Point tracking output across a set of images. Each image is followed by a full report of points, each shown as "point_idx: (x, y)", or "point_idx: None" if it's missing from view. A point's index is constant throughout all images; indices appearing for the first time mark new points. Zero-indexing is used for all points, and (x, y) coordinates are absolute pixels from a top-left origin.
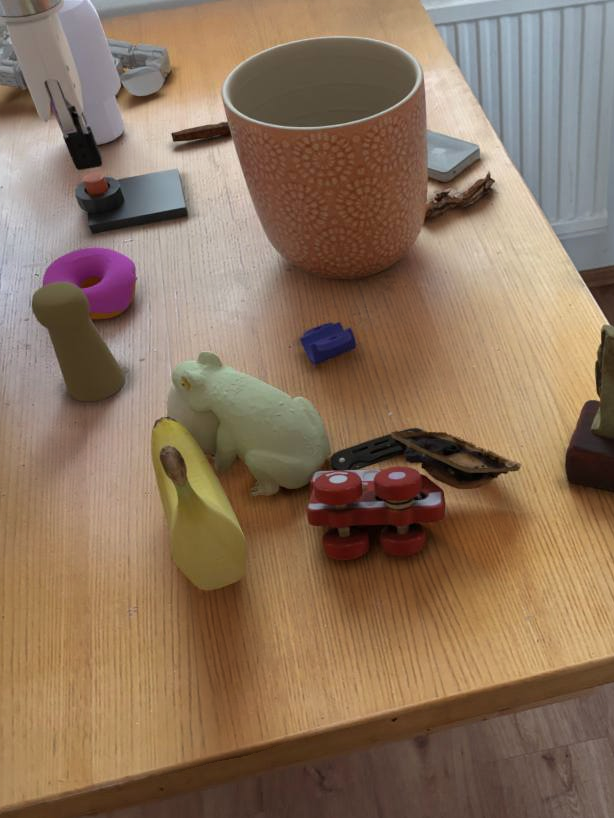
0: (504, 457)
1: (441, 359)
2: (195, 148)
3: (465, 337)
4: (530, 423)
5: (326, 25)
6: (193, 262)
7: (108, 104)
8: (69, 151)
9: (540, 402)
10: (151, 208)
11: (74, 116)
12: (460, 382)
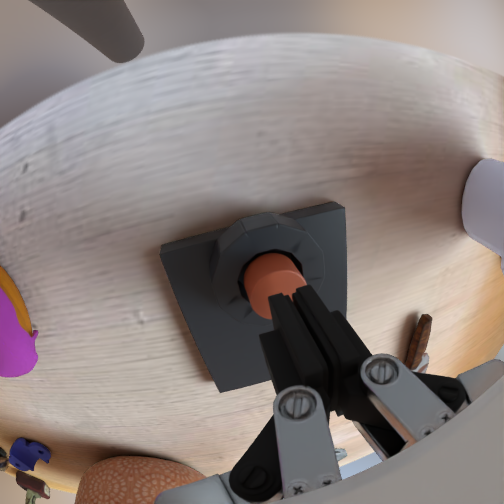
0: (6, 468)
1: (57, 471)
2: (401, 336)
3: (78, 479)
4: (37, 474)
5: (491, 354)
6: (101, 395)
7: (499, 253)
8: (287, 334)
9: (50, 479)
10: (220, 355)
11: (377, 419)
12: (46, 470)
